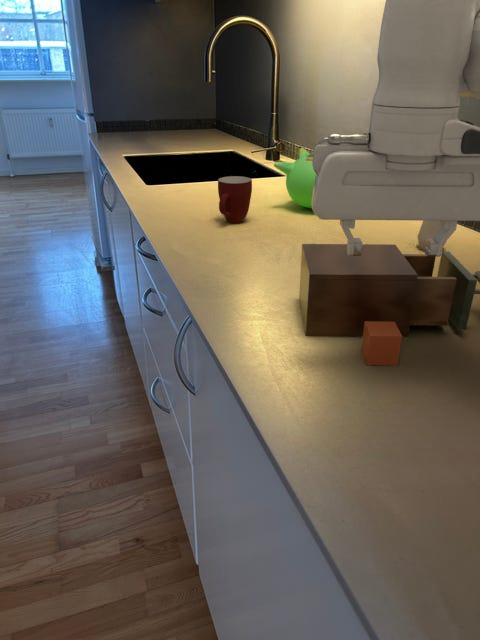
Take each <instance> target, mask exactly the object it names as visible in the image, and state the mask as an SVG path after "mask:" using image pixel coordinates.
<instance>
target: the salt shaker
mask: <svg viewBox="0 0 480 640" xmlns="http://www.w3.org/2000/svg"><path fill="white" fill-rule="evenodd" d="M441 227H442V226H440V225H439V221H422V222H421V226H420V228H419V230H418V234H417V243H418V247H419V249H420V250H423V251H424V249H425V247H426V239H433V238H434V236H435V235H436V234H437V232H438V231H439V230H440V228H441ZM446 243H447V241H446V242H445V243H443V247H444V246H445V244H446Z"/></svg>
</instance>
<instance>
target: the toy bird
mask: <svg viewBox="0 0 480 640" xmlns="http://www.w3.org/2000/svg"><path fill="white" fill-rule="evenodd" d="M298 156H299V157H298V158H297V159H296V160H295V161H294V162H287V161H277V162H274V163H273V166H274V168H275V169H276V170H279V171H280V172H281V173H284V174H285V175H286V177H285V185H286V192H287V193H288V195H289V197H290V198H291V199H292V201H293V202H294V203H296V204H297V205H299V206H301V207H303V208H306V209H312V194H313V188H314V182H315V178H316V173H315V171H314V169H313V165H312V162H313V152H312V153H310V152H309V151H308V150H307V149H305V148H304V147H300V148H299V150H298Z"/></svg>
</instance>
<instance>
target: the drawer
mask: <svg viewBox="0 0 480 640" xmlns="http://www.w3.org/2000/svg"><path fill="white" fill-rule="evenodd" d="M402 254H403V253H402ZM403 256H404V257H405V258H406V260H407V261H408V262H409V264H410V265H411V266H412V268H413V269H414V270H415V272H416V273H417V275H418V277H417V284H416V289H415V295H414V301H413V307H412V313H411V319H410V325H409V326H431V327H432V326H434V327H435V326H438V327H440V326H441V327H443V326H444V327H445V326H446V327H447V326H448V323H449V320H450V321H451V323H452V324H453V325H454V327H455V328H456V330H458V331H467V327H468V323H469V317H470V314H471V310H472V305H473V300H474V296H475V295H480V288H476V287H477V284H478V283H479V284H480V270H476V271H475V272H474V273H471V272H470V271H469V270H468V269H467V268H466V267H465V266H464V265H463V264H462V263H461V262H460V261H459V260H458V258H456V257H455V256H454V255H453V254H452V253H451V251H442V252H441V256H440V260H439V266H438V270H437V276H433V273H434V269H435V262H436V258H437V257H430V256H427V255H426V254H425V253H404V254H403Z"/></svg>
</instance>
